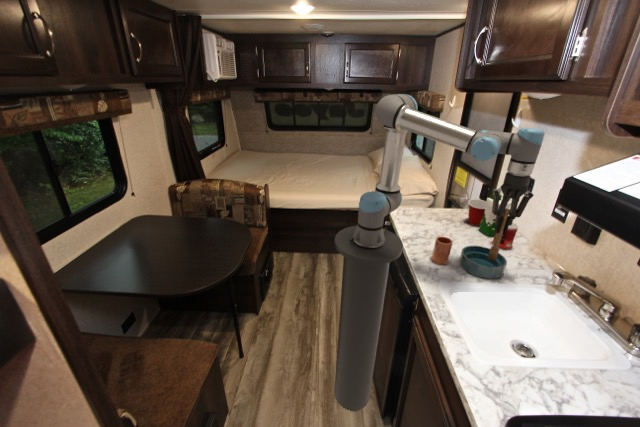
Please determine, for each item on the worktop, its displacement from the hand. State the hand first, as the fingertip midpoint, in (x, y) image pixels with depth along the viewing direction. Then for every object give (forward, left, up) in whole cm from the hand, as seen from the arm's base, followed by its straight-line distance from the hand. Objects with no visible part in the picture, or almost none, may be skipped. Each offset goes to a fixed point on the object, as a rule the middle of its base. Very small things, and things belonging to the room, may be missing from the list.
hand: (500, 231), depth 113 cm
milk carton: (+10, +34, -17) cm, 40 cm away
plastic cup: (+5, +44, -18) cm, 48 cm away
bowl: (-3, 0, -17) cm, 18 cm away
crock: (-19, +1, -17) cm, 26 cm away
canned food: (+12, +22, -17) cm, 31 cm away
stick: (0, 0, -12) cm, 12 cm away
